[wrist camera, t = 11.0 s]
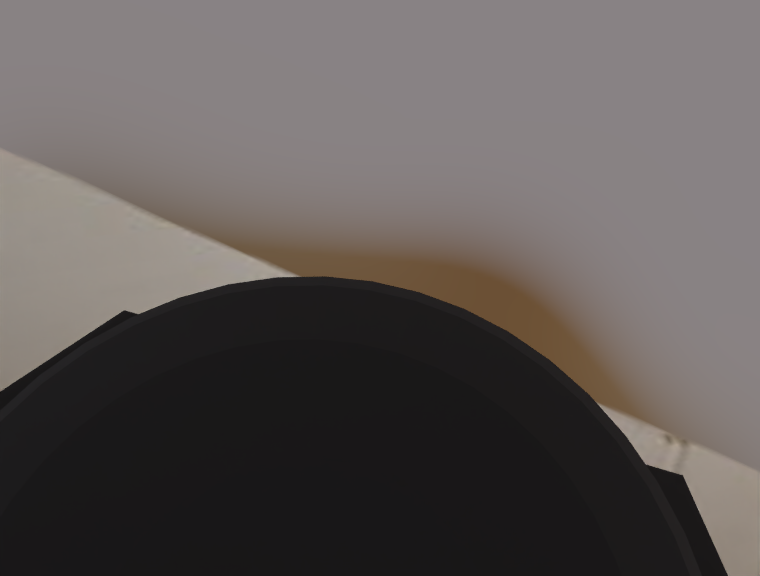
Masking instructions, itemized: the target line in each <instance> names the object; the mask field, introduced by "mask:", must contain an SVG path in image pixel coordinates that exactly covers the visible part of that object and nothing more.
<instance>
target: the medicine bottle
mask: <svg viewBox="0 0 760 576" xmlns="http://www.w3.org/2000/svg"><path fill="white" fill-rule="evenodd" d="M0 576H702V575H701V572H700V570H699V567H698V564H697V562H696V559H695V557H694V554H693V552H692V549H691V547H690V544H689V542H688V539H687V537H686V534H685V532H684V530H683V528H682V527H681V525H680V523H679V521H678V519H677V517H676V515H675V513H674V512H673V510H672V508H671V506H670V504H669V502H668V500H667V499H666V497H665V495H664V493H663V491H662V489H661V487H660V485H659V484H658V482H657V480H656V479H655V477H654V476H653V475H652V473H651V472H650V470H649V469H648V467H647V466H646V464H645V463H644V462H643V460H642V459H641V457H640V456H639V454H638V453H637V452H636V450H635V449H634V447H633V446H632V444H631V443H630V442H629V440H628V439H627V437H626V436H625V435H624V433H623V432H622V431H621V430H620V429H619V428H618V427H617V426H616V424H615V423H614V422H613V421H612V420H611V419H610V418H609V417H608V415H607V414H606V413H605V412H604V411H603V410H602V409H601V408H600V406H599V405H598V404H597V403H596V402H595V401H594V400H593V399H592V398H591V397H590V395H589V394H588V393H587V392H585V391H584V390H583V389H582V388H581V387H580V386H578V385H577V384H576V383H575V382H574V381H573V380H572V379H571V378H570V377H568V376H567V375H566V374H565V373H564V372H563V371H561V370H560V369H559V368H558V367H557V366H556V365H555V364H553V363H552V362H551V361H550V360H549V359H547V358H546V357H544V356H543V355H542V354H540V353H539V352H537V351H536V350H534V349H533V348H531V347H530V346H528V345H527V344H526V343H524V342H523V341H521V340H520V339H518V338H517V337H515V336H514V335H512V334H511V333H509V332H508V331H506V330H504V329H502V328H500V327H498V326H496V325H494V324H492V323H491V322H488V321H486V320H484V319H483V318H481V317H479V316H477V315H475V314H473V313H471V312H469V311H467V310H465V309H463V308H460V307H457V306H454V305H452V304H449V303H447V302H444V301H441V300H439V299H436V298H433V297H430V296H428V295H425V294H422V293H420V292H416V291H411V290H407V289H403V288H398V287H394V286H390V285H385V284H381V283H377V282H373V281H363V280H353V279H343V278H334V277H278V278H270V279H263V280H256V281H249V282H242V283H235V284H228V285H225V286H221V287H217V288H214V289H210V290H206V291H203V292H199V293H195V294H191V295H188V296H184V297H180V298H178V299H175V300H173V301H170V302H168V303H165V304H163V305H160V306H158V307H155V308H153V309H151V310H148V311H146V312H143V313H141V314H138V315H136V316H133V317H131V318H129V319H127V320H126V321H124V322H122V323H120V324H118V325H116V326H115V327H113V328H111V329H109V330H107V331H106V332H104V333H102V334H100V335H98V336H96V337H95V338H93V339H91V340H89V341H87V342H86V343H84V344H82V345H81V346H80V347H78V348H77V349H75V350H74V351H73V352H71V353H70V354H68V355H67V356H66V357H64V358H63V359H61V360H60V361H59V362H57V363H56V364H54V365H53V366H52V367H50V368H49V369H47V370H46V371H45V372H43V373H42V374H40V375H39V376H38V377H37V378H36V379H35V380H33V381H32V382H31V383H30V384H29V385H28V386H27V387H26V388H25V389H23V390H22V391H21V392H20V393H19V394H18V395H17V396H16V397H15V398H13V399H12V400H11V401H10V402H9V403H8V404H7V405H6V406H5V407H3V408H2V409H1V410H0Z"/></svg>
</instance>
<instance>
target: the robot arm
mask: <svg viewBox="0 0 760 576" xmlns="http://www.w3.org/2000/svg"><path fill="white" fill-rule="evenodd" d="M136 315H138V314H135V313H132V312H128V311H125V310H124V311H122V312H121V313H119V314H118V315H116V316H115V317H113V318H112V319H110V320H109V321H107V322H106V323H104V324H103V325H101V326H100V327H98V328H97V329H95V330H93V331H92V332H90V333H89V334H87V335H86V336H84V337H83V338H81V339H80V340H78V341H77V342H75V343H74V344H72V345H71V346H69V347H68V348H66V349H65V350H63V351H61V352H60V353H58V354H57V355H55V356H54V357H52V358H51V359H49V360H48V361H46V362H45V363H43V364H42V365H40V366H39V367H37V368H36V369H34V370H33V371H31V372H30V373H28V374H26V375H25V376H23V377H22V378H20V379H19V380H17V381H16V382H14V383H13V384H11V385H10V386H8V387H7V388H5V389H4V390H2V391H1V392H0V410H1V409H2V408H3V407H5V406H6V405H7V404H8V403H9V402H10V401H11V400H12V399H13V398H15V397H16V396H17V395H18V394H19V393H20V392H21V391H22V390H23V389H25V388H26V387H27V386H28V385H29V384H30V383H31V382H32V381H33V380H35V379H36V378H37V377H38V376H39V375H40V374H42V373H43V372H45V371H46V370H47V369H49V368H50V367H52V366H53V365H54V364H56V363H57V362H59V361H60V360H61V359H63V358H64V357H66V356H67V355H68V354H70V353H71V352H73V351H74V350H75V349H77V348H78V347H80V346H81V345H82V344H84V343H86V342H87V341H89V340H91V339H93V338H95V337H96V336H98V335H100V334H102V333H104V332H106V331H107V330H109V329H111V328H113V327H115V326H116V325H118V324H120V323H122V322H124V321H126V320H127V319H129V318H131V317H133V316H136ZM646 466H647V467H648V469H649V470H650V472H651V473H652V475H653V476H654V477H655V479H656V480H657V482H658V484H659V485H660V487H661V489H662V491H663V493H664V495H665V497H666V499H667V500H668V502H669V504H670V506H671V508H672V510H673V512H674V513H675V515H676V517H677V519H678V521H679V523H680V525H681V527H682V528H683V530H684V532H685V534H686V537H687V539H688V542H689V544H690V547H691V549H692V552H693V554H694V557H695V559H696V562H697V564H698V567H699V570H700V572H701V575H702V576H728V575H727V573H726V571H725V568H724V566H723V564H722V562H721V559H720V557H719V555H718V553H717V551H716V548H715V546H714V544H713V542H712V539H711V537H710V535H709V533H708V531H707V528H706V526H705V524H704V522H703V519H702V517H701V515H700V513H699V511H698V508H697V506H696V504H695V502H694V499H693V497H692V495H691V493H690V491H689V488H688V486H687V484H686V482H685V479H684V477H683V475H679V474H676V473H673V472H669V471H666V470H662V469H659V468H656V467H652V466H649V465H646Z"/></svg>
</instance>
